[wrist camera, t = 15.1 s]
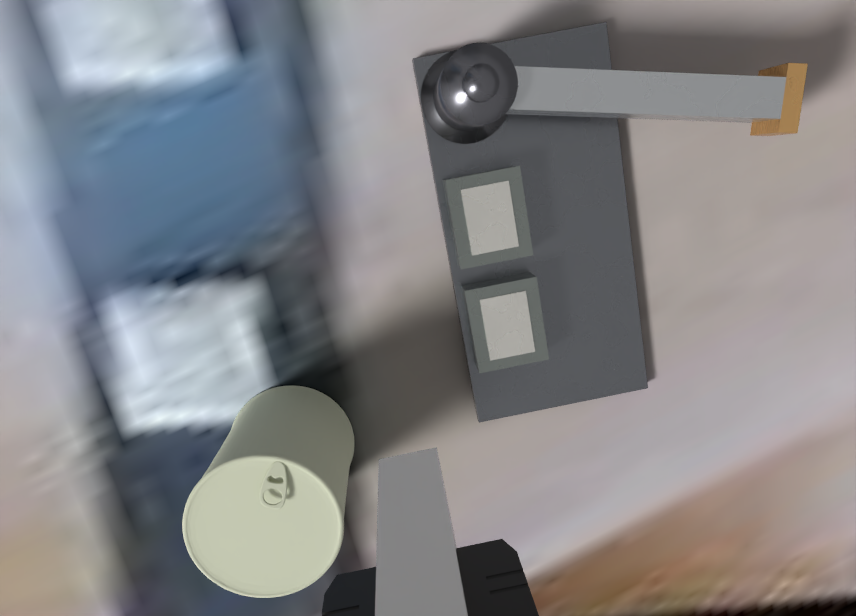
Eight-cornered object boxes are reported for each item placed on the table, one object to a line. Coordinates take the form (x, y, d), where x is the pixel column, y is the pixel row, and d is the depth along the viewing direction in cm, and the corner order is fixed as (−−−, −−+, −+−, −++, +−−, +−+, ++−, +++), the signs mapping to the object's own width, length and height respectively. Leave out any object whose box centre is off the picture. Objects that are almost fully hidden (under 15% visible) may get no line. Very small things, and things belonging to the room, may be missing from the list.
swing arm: (432, 129, 41) (440, 122, 35) (434, 59, 40) (443, 38, 34) (751, 140, 43) (816, 134, 36) (760, 72, 42) (828, 54, 35)
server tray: (412, 60, 41) (414, 52, 38) (602, 24, 42) (617, 14, 39) (477, 418, 47) (483, 433, 44) (643, 384, 47) (659, 397, 45)
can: (367, 399, 46) (360, 476, 35) (339, 508, 48) (324, 617, 36) (243, 372, 45) (193, 442, 33) (220, 485, 47) (165, 589, 35)
